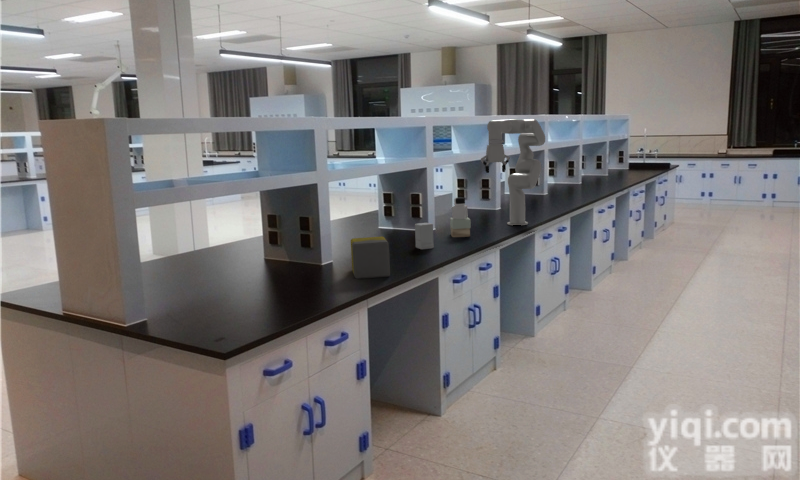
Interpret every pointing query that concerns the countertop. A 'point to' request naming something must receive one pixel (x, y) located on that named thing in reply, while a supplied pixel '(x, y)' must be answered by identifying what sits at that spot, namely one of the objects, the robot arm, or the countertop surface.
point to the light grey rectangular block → (459, 209)
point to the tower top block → (460, 223)
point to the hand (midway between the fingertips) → (495, 172)
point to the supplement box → (424, 235)
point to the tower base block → (460, 232)
